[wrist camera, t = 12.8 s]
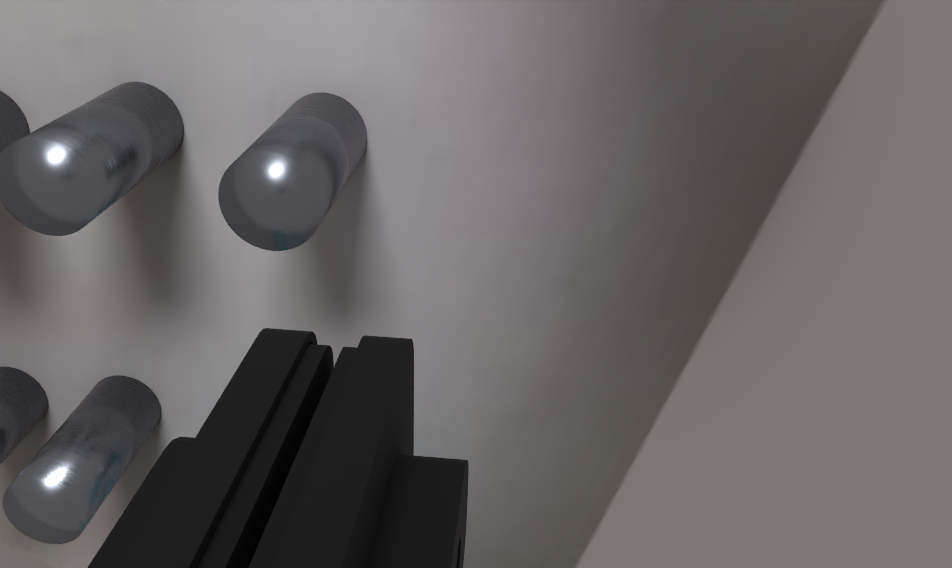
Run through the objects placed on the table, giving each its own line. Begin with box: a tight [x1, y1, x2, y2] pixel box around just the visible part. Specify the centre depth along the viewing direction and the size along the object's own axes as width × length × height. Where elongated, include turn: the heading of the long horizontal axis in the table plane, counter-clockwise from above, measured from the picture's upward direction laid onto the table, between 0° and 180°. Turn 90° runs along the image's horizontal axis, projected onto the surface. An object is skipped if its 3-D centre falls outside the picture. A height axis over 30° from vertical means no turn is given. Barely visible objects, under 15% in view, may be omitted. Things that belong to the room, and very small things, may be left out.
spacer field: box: [0, 82, 367, 544], centre depth 37 cm, size 19×21×8 cm
